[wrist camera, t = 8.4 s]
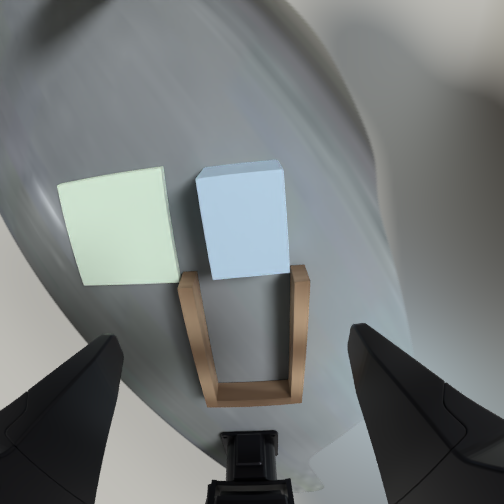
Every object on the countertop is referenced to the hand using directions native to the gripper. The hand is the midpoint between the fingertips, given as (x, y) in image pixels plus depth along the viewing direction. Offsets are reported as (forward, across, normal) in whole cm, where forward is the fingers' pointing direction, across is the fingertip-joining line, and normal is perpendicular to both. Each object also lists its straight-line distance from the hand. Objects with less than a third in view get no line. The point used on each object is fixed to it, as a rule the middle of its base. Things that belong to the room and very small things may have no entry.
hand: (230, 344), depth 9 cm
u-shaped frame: (+12, 0, +10) cm, 16 cm away
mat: (+12, +8, 0) cm, 15 cm away
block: (+12, 0, 0) cm, 12 cm away
